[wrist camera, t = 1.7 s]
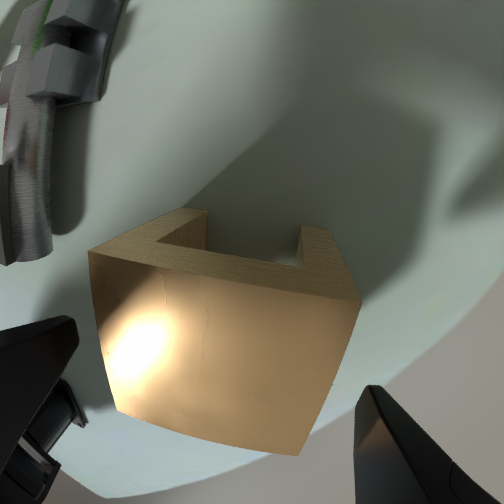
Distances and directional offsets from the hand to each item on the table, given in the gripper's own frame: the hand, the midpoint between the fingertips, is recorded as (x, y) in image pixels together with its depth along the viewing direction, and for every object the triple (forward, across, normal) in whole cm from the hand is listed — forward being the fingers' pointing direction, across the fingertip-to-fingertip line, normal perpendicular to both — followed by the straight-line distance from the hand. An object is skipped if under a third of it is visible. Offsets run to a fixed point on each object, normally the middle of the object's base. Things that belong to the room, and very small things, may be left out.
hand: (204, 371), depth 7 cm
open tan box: (+6, 0, 0) cm, 6 cm away
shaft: (+6, +12, -7) cm, 15 cm away
